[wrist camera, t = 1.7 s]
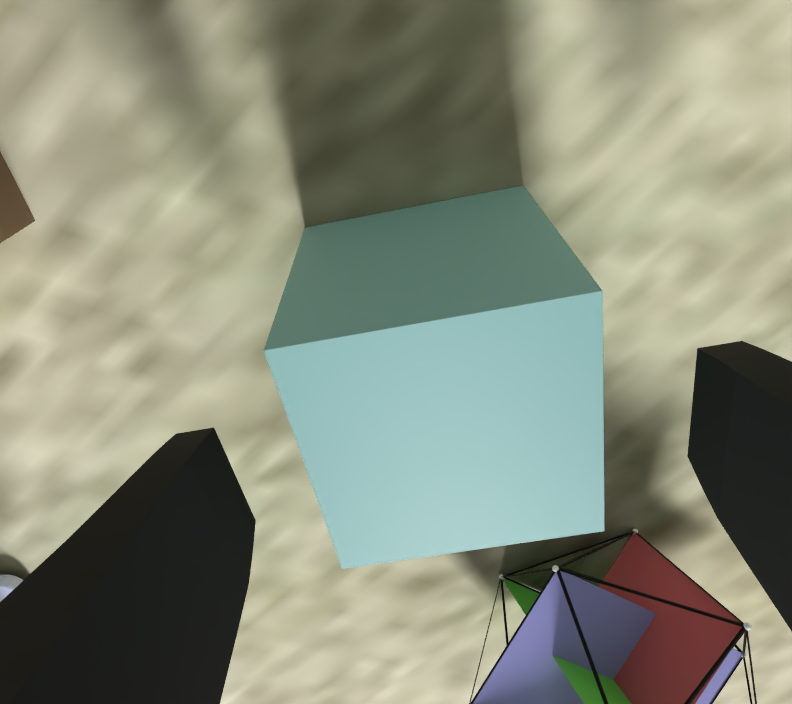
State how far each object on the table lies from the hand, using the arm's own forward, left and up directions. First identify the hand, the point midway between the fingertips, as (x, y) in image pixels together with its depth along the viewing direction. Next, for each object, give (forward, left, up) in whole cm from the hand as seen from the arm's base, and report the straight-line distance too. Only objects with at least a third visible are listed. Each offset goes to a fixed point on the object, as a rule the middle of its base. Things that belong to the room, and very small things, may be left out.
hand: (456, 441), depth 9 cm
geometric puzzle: (-10, -3, -5) cm, 12 cm away
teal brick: (0, 0, -5) cm, 5 cm away
